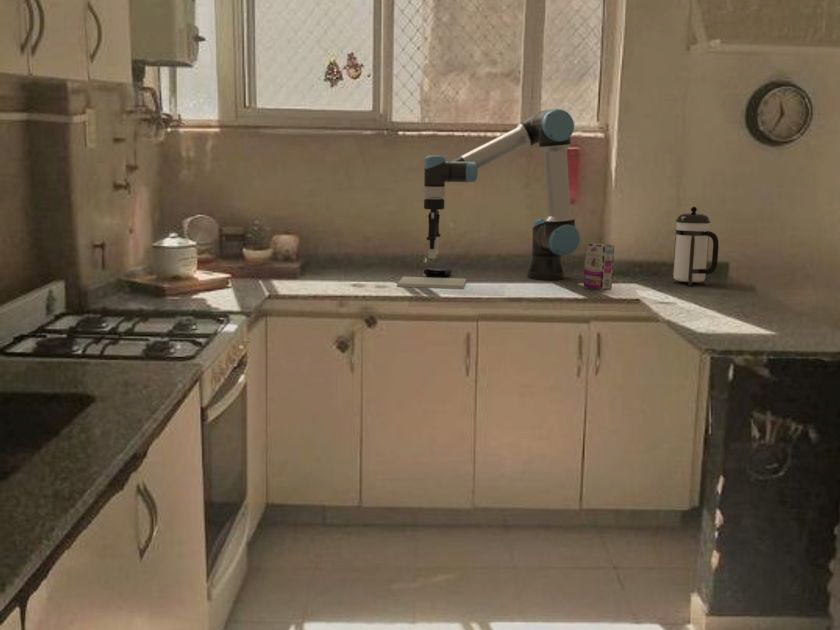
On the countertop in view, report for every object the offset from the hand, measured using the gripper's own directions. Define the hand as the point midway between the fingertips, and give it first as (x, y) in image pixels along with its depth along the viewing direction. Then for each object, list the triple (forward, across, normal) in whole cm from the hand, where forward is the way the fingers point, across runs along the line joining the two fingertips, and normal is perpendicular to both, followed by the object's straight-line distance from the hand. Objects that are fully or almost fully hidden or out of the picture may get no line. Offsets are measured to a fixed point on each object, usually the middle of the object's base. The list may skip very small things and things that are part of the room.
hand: (433, 256), depth 338 cm
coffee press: (+12, -25, +99) cm, 103 cm away
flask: (+11, -18, 0) cm, 22 cm away
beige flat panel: (+10, 0, 0) cm, 10 cm away
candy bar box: (+11, -4, +61) cm, 62 cm away
